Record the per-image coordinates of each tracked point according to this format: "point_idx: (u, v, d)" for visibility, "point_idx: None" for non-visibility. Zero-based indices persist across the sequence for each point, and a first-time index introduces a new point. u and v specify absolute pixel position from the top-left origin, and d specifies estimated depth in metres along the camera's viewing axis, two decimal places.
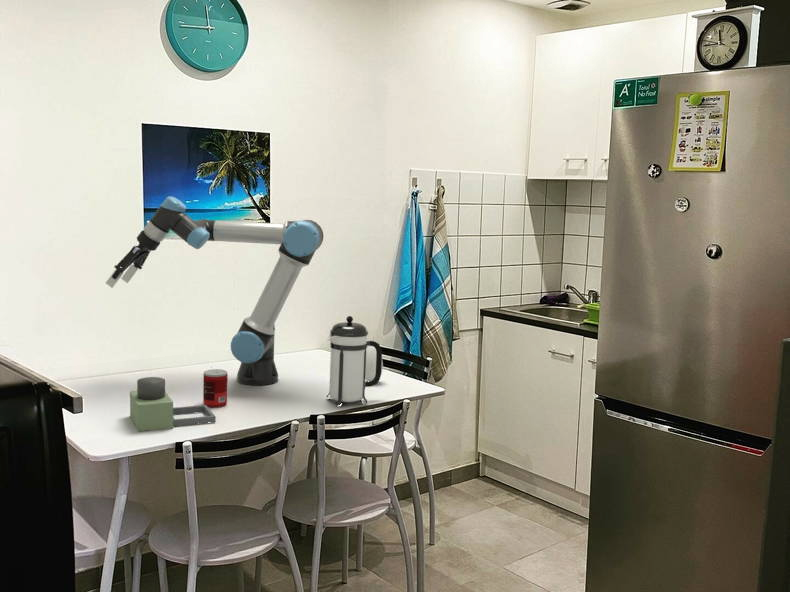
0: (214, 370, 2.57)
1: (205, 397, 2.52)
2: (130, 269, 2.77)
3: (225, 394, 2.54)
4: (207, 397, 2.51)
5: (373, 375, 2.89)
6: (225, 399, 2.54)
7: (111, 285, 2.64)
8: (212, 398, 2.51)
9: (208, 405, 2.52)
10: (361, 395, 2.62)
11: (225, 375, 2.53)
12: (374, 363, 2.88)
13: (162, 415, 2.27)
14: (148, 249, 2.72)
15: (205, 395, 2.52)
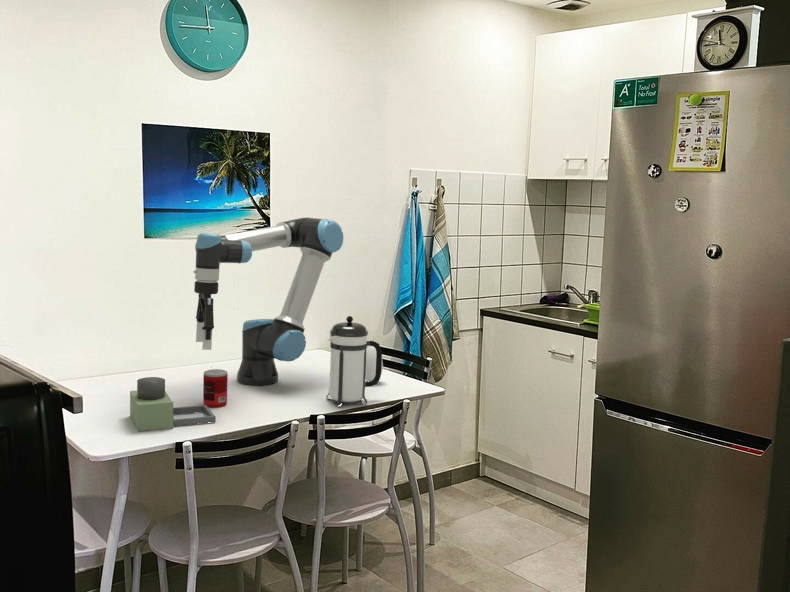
0: (214, 370, 2.57)
1: (205, 397, 2.52)
2: (199, 327, 2.58)
3: (225, 394, 2.54)
4: (207, 397, 2.51)
5: (373, 375, 2.89)
6: (225, 399, 2.54)
7: (209, 347, 2.46)
8: (212, 398, 2.51)
9: (208, 405, 2.52)
10: (361, 395, 2.62)
11: (225, 375, 2.53)
12: (374, 363, 2.88)
13: (162, 415, 2.27)
14: None
15: (205, 395, 2.52)
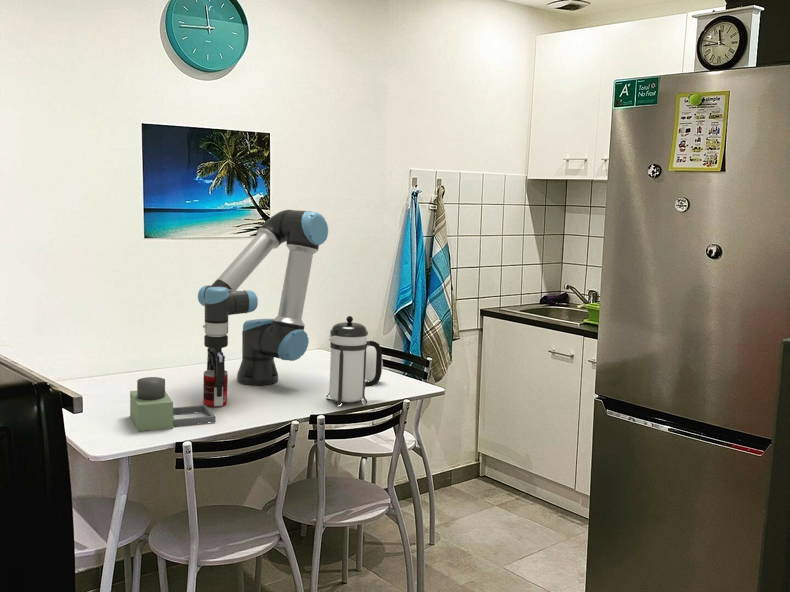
0: None
1: (205, 397, 2.52)
2: None
3: (225, 394, 2.54)
4: (207, 397, 2.51)
5: (373, 375, 2.89)
6: (225, 399, 2.54)
7: (221, 403, 2.51)
8: (213, 398, 2.51)
9: (208, 405, 2.52)
10: (361, 395, 2.62)
11: (225, 375, 2.53)
12: (374, 363, 2.88)
13: (162, 415, 2.27)
14: None
15: (205, 395, 2.52)
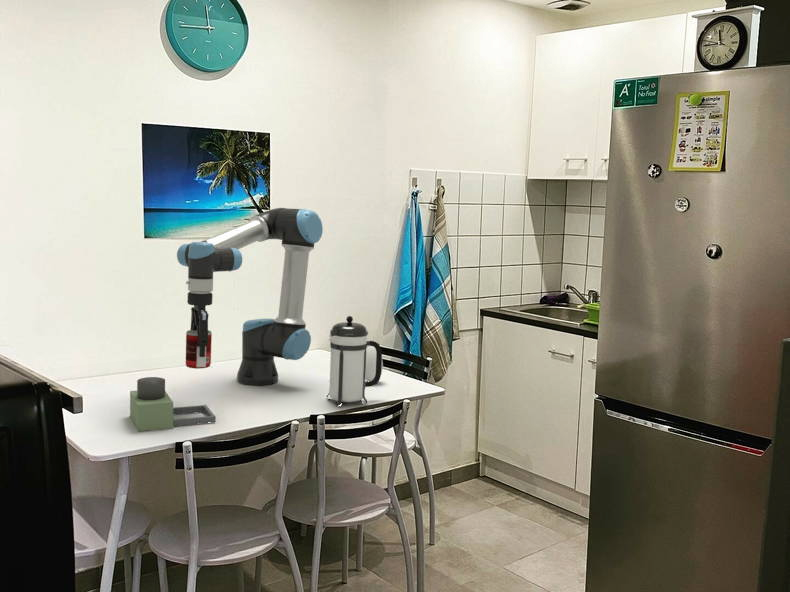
0: None
1: (187, 357, 2.39)
2: None
3: (209, 355, 2.41)
4: (189, 357, 2.38)
5: (373, 375, 2.89)
6: (208, 360, 2.41)
7: (203, 364, 2.38)
8: (195, 359, 2.38)
9: (190, 366, 2.39)
10: (361, 395, 2.62)
11: (209, 335, 2.40)
12: (374, 363, 2.88)
13: (162, 415, 2.27)
14: None
15: (187, 355, 2.39)
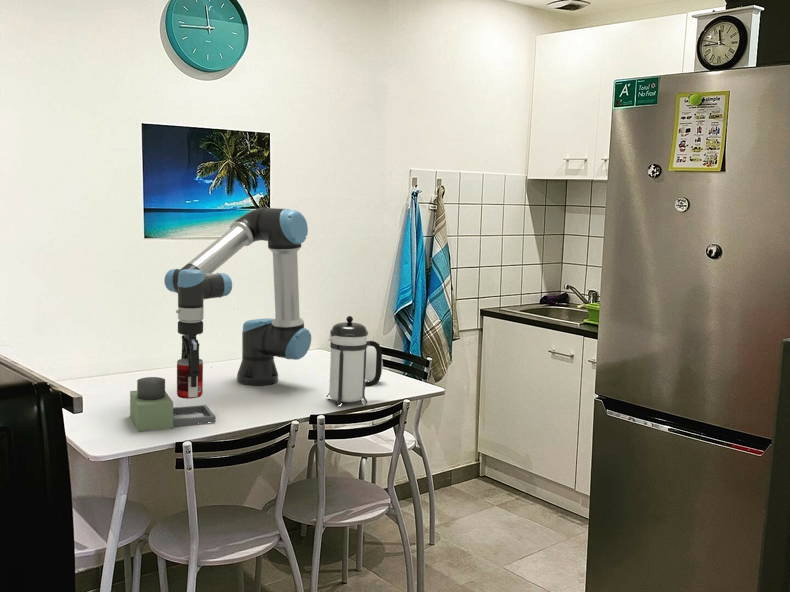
0: None
1: (178, 387, 2.35)
2: None
3: (200, 384, 2.36)
4: (181, 387, 2.34)
5: (373, 375, 2.89)
6: (200, 390, 2.37)
7: (195, 394, 2.34)
8: (186, 389, 2.34)
9: (182, 396, 2.34)
10: (361, 395, 2.62)
11: (200, 364, 2.35)
12: (374, 363, 2.88)
13: (162, 415, 2.27)
14: None
15: (178, 385, 2.34)
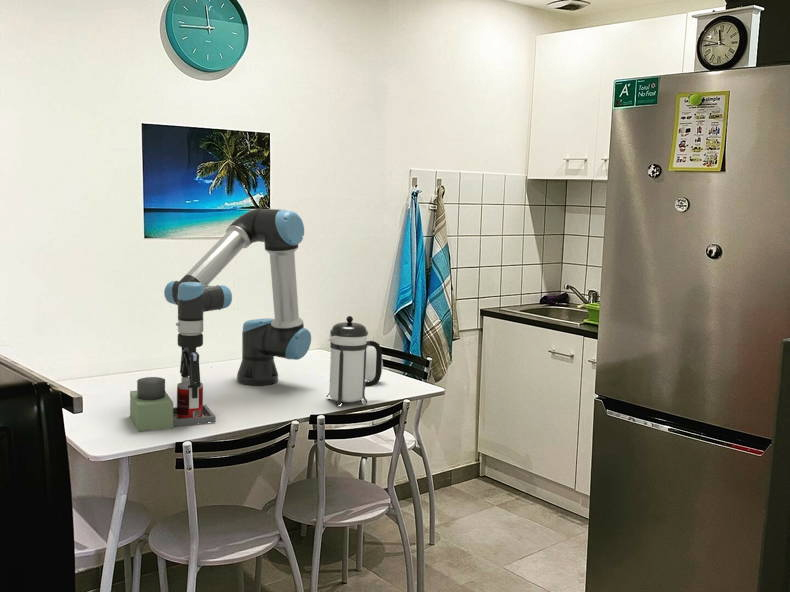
0: (189, 382, 2.40)
1: (178, 411, 2.35)
2: None
3: (200, 408, 2.37)
4: (181, 411, 2.35)
5: (373, 375, 2.89)
6: (200, 413, 2.38)
7: (196, 405, 2.33)
8: (186, 413, 2.34)
9: None
10: (361, 395, 2.62)
11: (200, 388, 2.36)
12: (374, 363, 2.88)
13: (162, 415, 2.27)
14: None
15: (178, 409, 2.35)
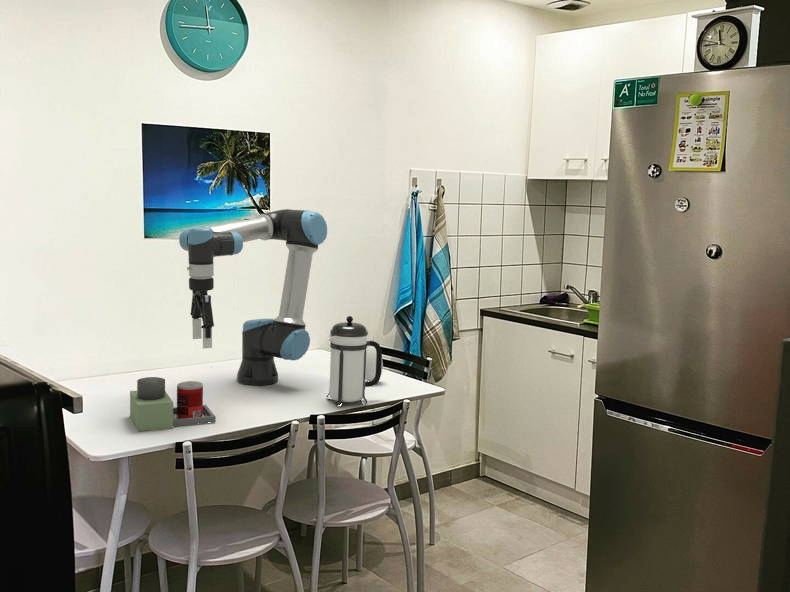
0: (189, 382, 2.40)
1: (178, 411, 2.35)
2: (195, 324, 2.50)
3: (200, 408, 2.37)
4: (180, 411, 2.35)
5: (373, 375, 2.89)
6: (200, 413, 2.38)
7: (210, 345, 2.39)
8: (186, 413, 2.34)
9: None
10: (361, 395, 2.62)
11: (200, 388, 2.36)
12: (374, 363, 2.88)
13: (162, 415, 2.27)
14: None
15: (178, 409, 2.35)
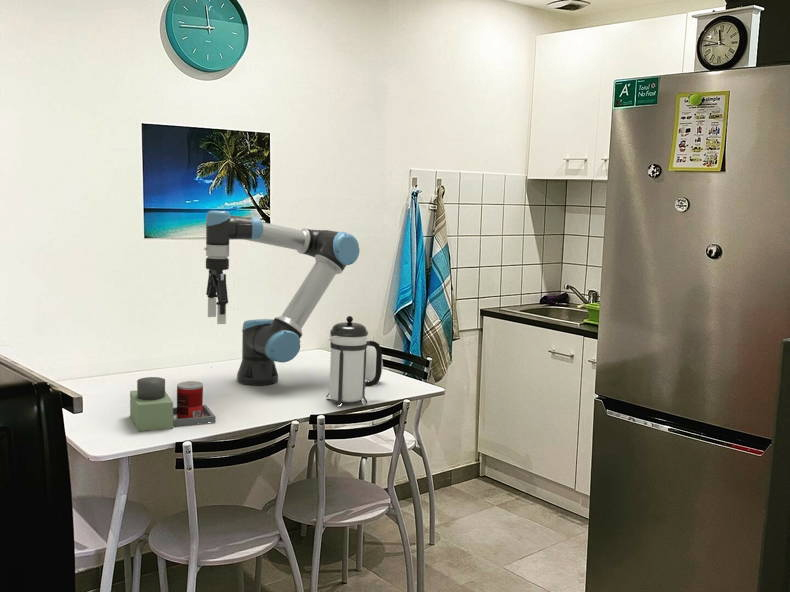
0: (189, 382, 2.40)
1: (178, 411, 2.35)
2: (210, 303, 2.64)
3: (200, 408, 2.37)
4: (180, 411, 2.35)
5: (373, 375, 2.89)
6: (200, 413, 2.38)
7: (224, 322, 2.53)
8: (186, 413, 2.34)
9: None
10: (361, 395, 2.62)
11: (200, 388, 2.36)
12: (374, 363, 2.88)
13: (162, 415, 2.27)
14: None
15: (178, 409, 2.35)
